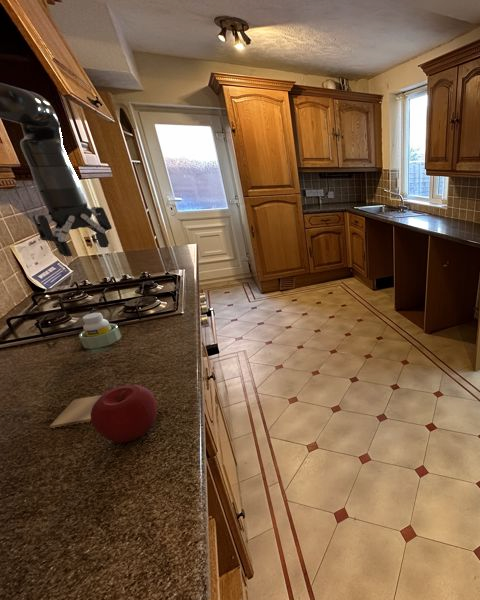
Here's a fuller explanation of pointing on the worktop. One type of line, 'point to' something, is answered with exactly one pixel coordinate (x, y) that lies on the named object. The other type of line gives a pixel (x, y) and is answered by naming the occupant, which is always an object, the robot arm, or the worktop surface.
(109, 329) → the supplement bottle
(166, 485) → the worktop surface
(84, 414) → the board
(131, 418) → the apple
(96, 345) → the bowl
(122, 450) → the worktop surface
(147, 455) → the worktop surface
